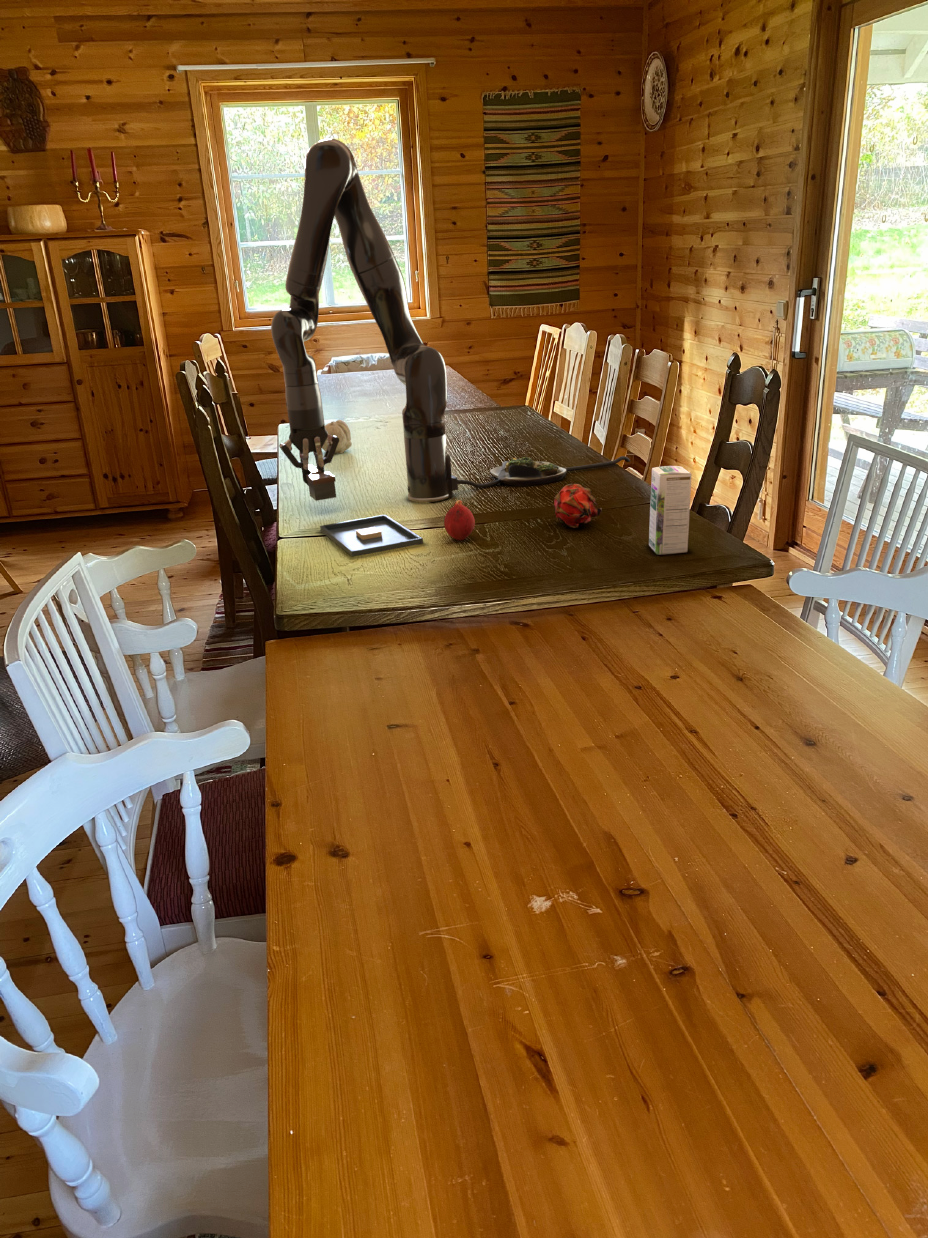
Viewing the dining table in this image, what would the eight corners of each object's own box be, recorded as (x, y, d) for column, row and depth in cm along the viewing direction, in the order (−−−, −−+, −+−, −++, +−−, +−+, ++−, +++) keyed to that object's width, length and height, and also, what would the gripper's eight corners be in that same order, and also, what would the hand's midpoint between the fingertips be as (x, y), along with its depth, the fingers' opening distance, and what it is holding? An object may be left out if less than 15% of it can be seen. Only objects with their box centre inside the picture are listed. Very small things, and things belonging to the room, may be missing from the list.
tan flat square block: (375, 531, 183) (374, 526, 182) (382, 536, 179) (381, 531, 179) (356, 535, 181) (355, 530, 181) (362, 540, 178) (362, 535, 177)
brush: (337, 497, 198) (334, 474, 196) (315, 501, 196) (312, 478, 194) (320, 484, 210) (317, 463, 208) (299, 488, 208) (296, 466, 206)
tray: (386, 520, 191) (385, 514, 190) (423, 545, 174) (422, 538, 173) (320, 532, 186) (319, 525, 185) (352, 558, 169) (351, 551, 168)
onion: (472, 546, 172) (470, 504, 169) (442, 545, 173) (439, 504, 170) (478, 536, 177) (476, 496, 174) (449, 536, 178) (446, 496, 175)
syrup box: (647, 545, 166) (649, 466, 161) (679, 543, 167) (682, 464, 161) (656, 555, 161) (658, 474, 155) (689, 552, 161) (692, 471, 156)
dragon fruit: (568, 522, 188) (588, 546, 178) (536, 503, 184) (555, 527, 174) (593, 488, 186) (614, 511, 176) (561, 468, 182) (582, 490, 172)
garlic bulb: (350, 458, 263) (359, 424, 260) (343, 459, 255) (352, 424, 252) (319, 448, 263) (327, 414, 261) (311, 449, 255) (319, 414, 252)
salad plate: (474, 472, 227) (473, 454, 225) (540, 463, 232) (540, 445, 230) (504, 489, 210) (503, 469, 208) (574, 479, 215) (574, 460, 213)
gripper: (276, 411, 191) (288, 492, 198) (340, 403, 196) (349, 482, 203) (269, 407, 198) (280, 485, 204) (330, 399, 203) (339, 475, 209)
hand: (314, 483), depth 204 cm, fingers closed on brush
